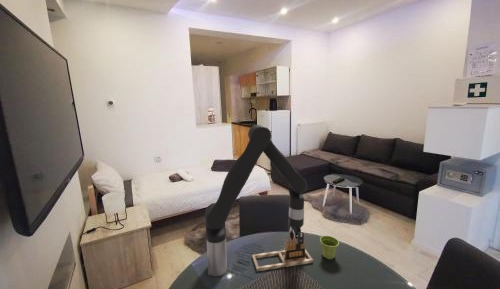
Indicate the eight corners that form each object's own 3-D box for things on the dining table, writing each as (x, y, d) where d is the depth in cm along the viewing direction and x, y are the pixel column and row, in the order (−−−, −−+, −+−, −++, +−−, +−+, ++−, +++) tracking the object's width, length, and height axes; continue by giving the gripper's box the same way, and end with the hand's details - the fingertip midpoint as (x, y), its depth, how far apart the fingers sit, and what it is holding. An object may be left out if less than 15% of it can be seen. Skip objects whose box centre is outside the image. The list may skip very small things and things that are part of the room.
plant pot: (335, 250, 127) (336, 236, 125) (340, 262, 118) (341, 246, 116) (317, 249, 128) (318, 235, 126) (321, 261, 119) (322, 245, 117)
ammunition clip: (285, 260, 119) (286, 238, 117) (284, 257, 121) (285, 236, 118) (305, 257, 121) (306, 236, 119) (303, 254, 123) (304, 234, 121)
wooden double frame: (256, 271, 112) (256, 268, 111) (252, 257, 122) (252, 254, 121) (313, 262, 118) (313, 259, 117) (304, 249, 127) (304, 247, 127)
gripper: (284, 209, 123) (283, 237, 126) (294, 223, 109) (293, 254, 112) (297, 208, 124) (296, 235, 127) (309, 221, 110) (307, 252, 113)
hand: (294, 244), depth 119 cm, fingers open, 8 cm apart
